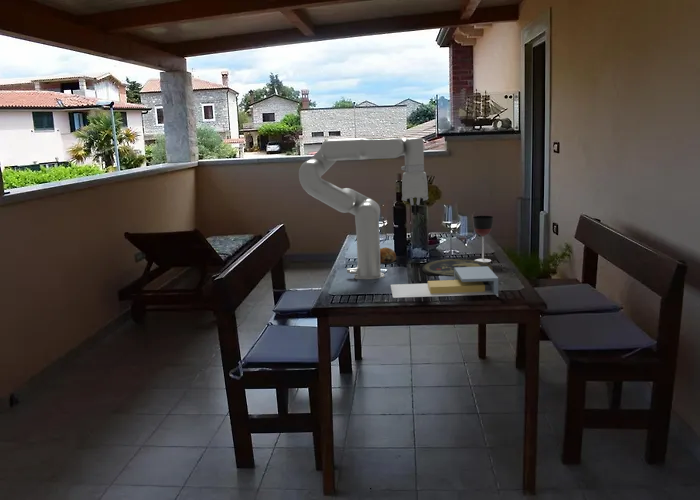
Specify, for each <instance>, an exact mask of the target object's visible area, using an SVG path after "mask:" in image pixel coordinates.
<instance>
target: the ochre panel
mask: <svg viewBox="0 0 700 500" xmlns="http://www.w3.org/2000/svg"><path fill="white" fill-rule="evenodd" d="M427 283H428V289H429V291H430V293H458V292H485V285H484V283H483V282H482V281H475V282H462V281H461V280H454V279H448V280H447V279H445V280H443V279H442V280H427Z"/></svg>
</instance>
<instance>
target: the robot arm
mask: <svg viewBox="0 0 700 500" xmlns="http://www.w3.org/2000/svg"><path fill="white" fill-rule="evenodd" d="M424 145H425V144H424V139H423V138H421V137H407V138H400V137H391V138H379V139H373V138H372V139H371V138H370V139H369V138H361V137H356V138H354V137H353V138H338V139H336V138H335V139H334V138H330V139H326V140H325V141H323V142H322V144H321V145H320V148H319V149H318V151H317V152H316V153H315V154H314V155H313V156H312V157H311V158H310V159H307V160H306V161H304V162H303V163H302V164H301V165H300V167H299V170H298V180H299V183H300V185H301V187H302V189H303V190H304V191H305V192H306V193H307V194H308V195H309V196H311V197H313V198H314V199H316V200H318V201H320V202H321V203H324V204H325V205H327V206H329V207H330V208H332V209H334V210H335V211H337V212H339V213H342V214H344V213H345V214H346V213H349V214H351V215H353V216H354V219H355V220H354V222H355V233H356V257H357V258H356V259H357V266H356V267H354V268H346V270H347V271H346V273H347V274H350V275H351V274H352V275H353V274H354V279H355V280H376V279H384V278H385V273H383V272H382V271H381V263H380V248H381V242H380V241H381V240H380V236H381V235H380V215H381V206H380V205H379V203H378V202H376V201H375V200H374V199H373V198H371V197H368V196H366V195H364V194H362V193H360V192H358V191H356V190H355V189H352V188H349V187H345V188H341V187H339V186H337V185H335V184H333V183H332V182H330V181H327V180H325V179H323V178H322V176H324V174H326V172H327V171H328V170H329V169H330V168H331V167H332V166H333V165H334V164H336V162H337V161H356V160H357V161H359V160H364V161H365V160H370V159H371V160H375V159H378V160H379V159H381V160H382V159H396V158H399V157H401V156H404V165H403V166H401V168H400V169H401V170H402V171H404V172H403V174H402V180H401V182H402V183H401V185H402V186H401V195H402V196H401V201H404V202H407V203H408V204H409V205H411V206H410V208H411V213H412V215H413V216H418V213H420V207H419V206H420V204H422V202H424V201H427V200H428V199H429V196H428V195H429V191H428V190H429V189H428V188H429V187H428V179H427V173H426V172H425V157H424V156H425V153H424V152H425V151H424V147H425V146H424ZM414 199H416V202H414Z"/></svg>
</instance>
